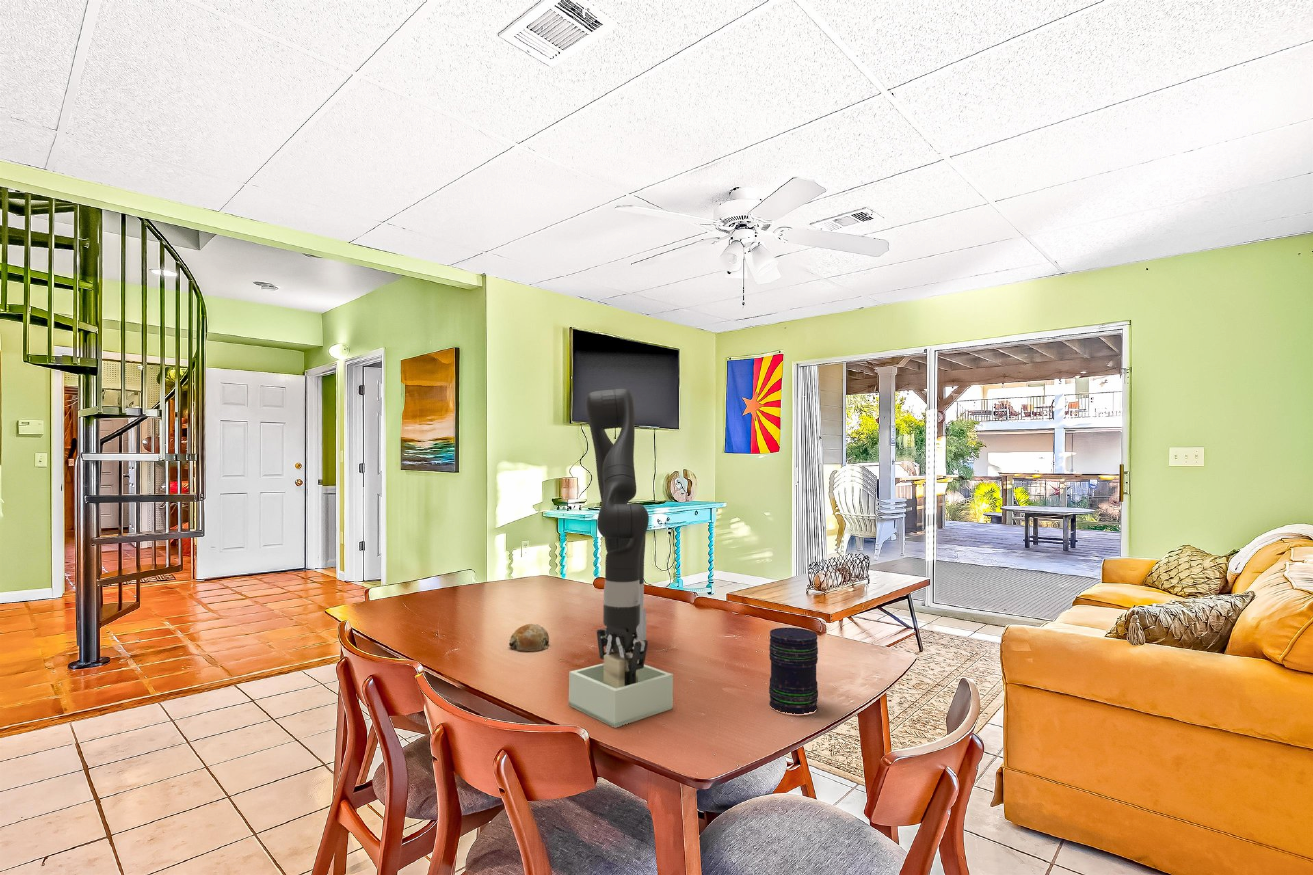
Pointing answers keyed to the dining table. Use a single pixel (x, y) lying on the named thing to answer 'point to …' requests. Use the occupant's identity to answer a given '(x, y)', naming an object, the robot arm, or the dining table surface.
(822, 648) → the dining table surface
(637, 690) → the bin
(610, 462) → the robot arm
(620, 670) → the block
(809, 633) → the storage jar
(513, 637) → the bread roll
